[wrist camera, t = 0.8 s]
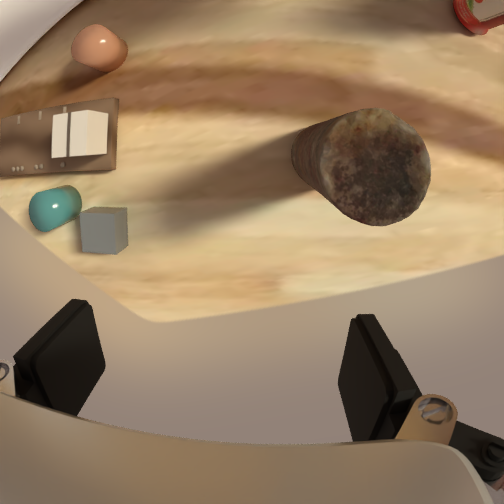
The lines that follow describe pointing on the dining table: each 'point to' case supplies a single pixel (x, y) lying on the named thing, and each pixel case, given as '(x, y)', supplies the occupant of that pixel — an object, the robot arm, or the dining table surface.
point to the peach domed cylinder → (99, 48)
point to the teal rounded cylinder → (54, 207)
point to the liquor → (480, 14)
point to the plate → (26, 26)
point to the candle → (365, 165)
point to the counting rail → (40, 141)
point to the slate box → (104, 230)
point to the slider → (79, 133)
